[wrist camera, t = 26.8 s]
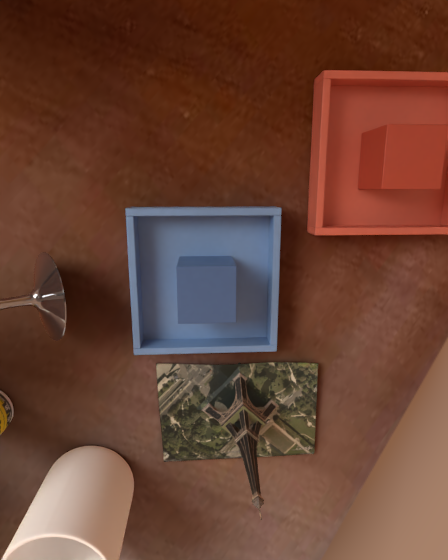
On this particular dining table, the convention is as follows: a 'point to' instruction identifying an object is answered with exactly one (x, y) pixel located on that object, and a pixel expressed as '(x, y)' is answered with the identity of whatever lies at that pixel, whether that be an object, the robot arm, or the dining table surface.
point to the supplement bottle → (5, 411)
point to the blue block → (206, 289)
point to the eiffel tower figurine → (237, 412)
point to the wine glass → (44, 297)
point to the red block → (402, 157)
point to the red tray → (347, 145)
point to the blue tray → (203, 242)
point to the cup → (77, 509)
